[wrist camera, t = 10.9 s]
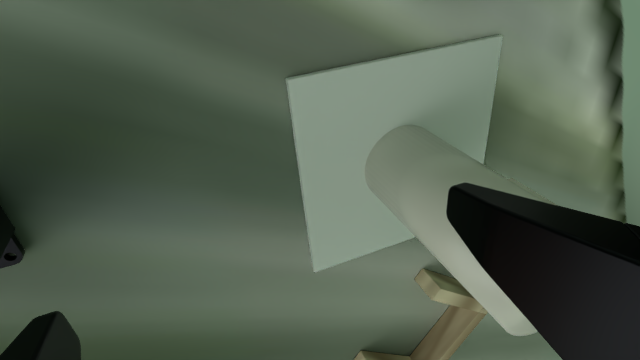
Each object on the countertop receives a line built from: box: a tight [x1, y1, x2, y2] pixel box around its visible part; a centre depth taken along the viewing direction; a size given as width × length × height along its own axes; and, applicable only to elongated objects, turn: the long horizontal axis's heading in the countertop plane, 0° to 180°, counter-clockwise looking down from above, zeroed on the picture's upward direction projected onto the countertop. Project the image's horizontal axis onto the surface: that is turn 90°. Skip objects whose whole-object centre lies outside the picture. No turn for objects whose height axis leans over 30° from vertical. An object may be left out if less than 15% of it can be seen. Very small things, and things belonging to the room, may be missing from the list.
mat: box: [285, 34, 503, 273], centre depth 26 cm, size 14×14×1 cm
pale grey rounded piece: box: [365, 125, 558, 336], centre depth 21 cm, size 8×5×12 cm
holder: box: [354, 268, 488, 360], centre depth 35 cm, size 8×11×2 cm
